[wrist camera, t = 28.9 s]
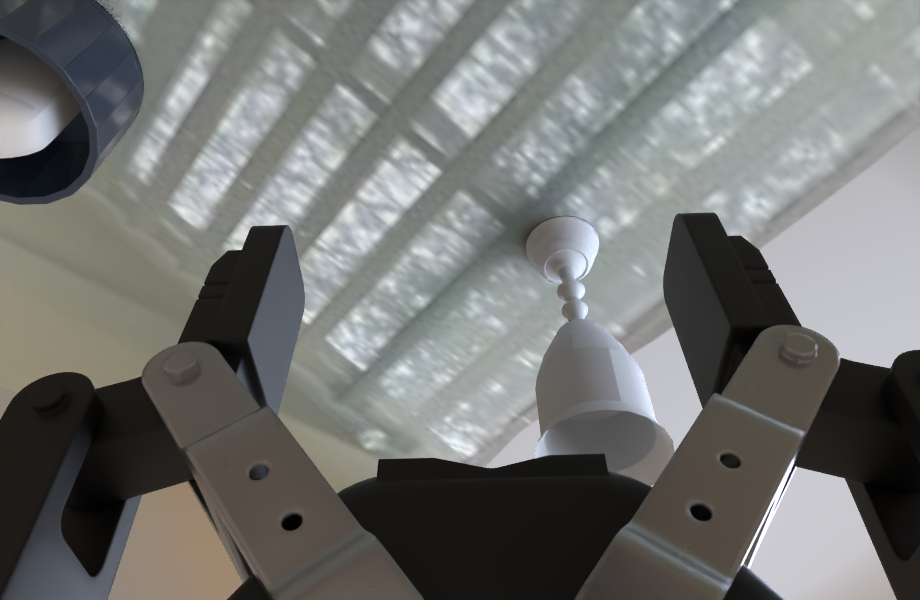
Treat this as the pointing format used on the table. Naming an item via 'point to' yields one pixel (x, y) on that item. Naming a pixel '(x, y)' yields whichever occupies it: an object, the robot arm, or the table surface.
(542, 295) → the table surface
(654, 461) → the chalice
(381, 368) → the table surface
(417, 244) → the table surface
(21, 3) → the dark blue round container
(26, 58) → the eye dropper bottle
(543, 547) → the robot arm
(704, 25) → the table surface
